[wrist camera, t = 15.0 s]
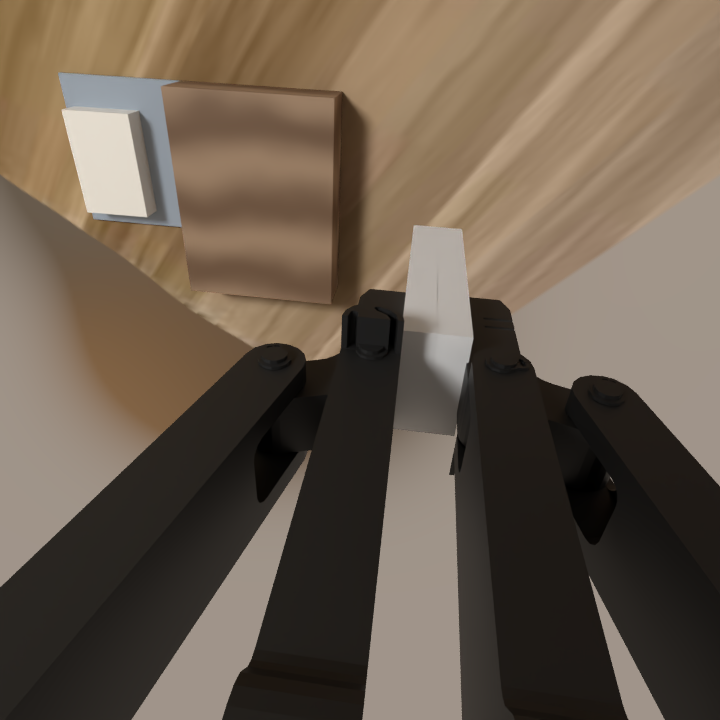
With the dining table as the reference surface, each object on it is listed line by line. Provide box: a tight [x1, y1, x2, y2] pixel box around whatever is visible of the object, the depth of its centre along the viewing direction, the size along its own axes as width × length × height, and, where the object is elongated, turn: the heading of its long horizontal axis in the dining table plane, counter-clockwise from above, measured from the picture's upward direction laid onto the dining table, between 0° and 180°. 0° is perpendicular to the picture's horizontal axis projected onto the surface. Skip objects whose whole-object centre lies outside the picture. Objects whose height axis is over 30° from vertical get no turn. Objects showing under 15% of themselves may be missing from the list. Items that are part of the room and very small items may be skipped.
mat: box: [58, 73, 182, 227], centre depth 49 cm, size 13×11×1 cm
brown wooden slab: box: [161, 81, 342, 304], centre depth 48 cm, size 18×14×4 cm
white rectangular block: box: [62, 106, 157, 217], centre depth 48 cm, size 9×6×2 cm, turn 178°
